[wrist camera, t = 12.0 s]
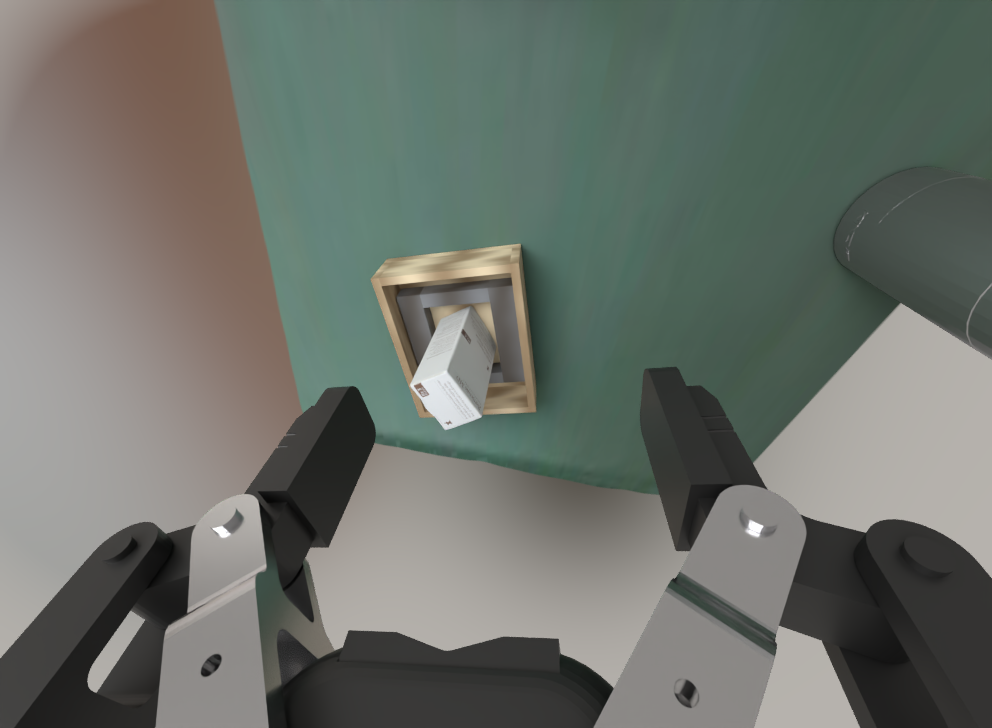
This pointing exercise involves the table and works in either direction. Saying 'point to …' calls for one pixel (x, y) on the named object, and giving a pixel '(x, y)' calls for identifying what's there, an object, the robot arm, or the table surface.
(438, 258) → the crate
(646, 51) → the table surface
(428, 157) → the table surface
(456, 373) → the skincare box
